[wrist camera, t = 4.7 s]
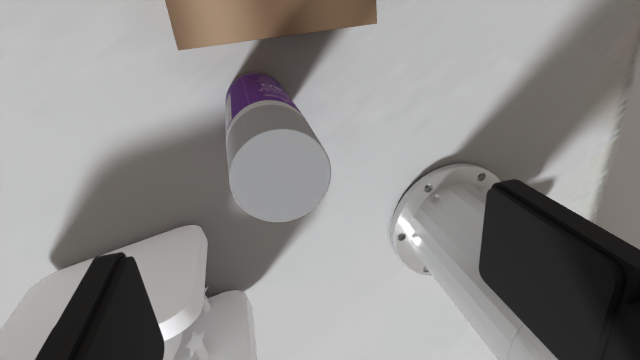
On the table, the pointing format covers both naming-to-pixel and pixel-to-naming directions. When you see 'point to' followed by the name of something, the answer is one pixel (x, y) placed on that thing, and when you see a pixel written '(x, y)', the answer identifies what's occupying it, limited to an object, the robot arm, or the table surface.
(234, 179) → the container
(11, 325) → the cable organizer
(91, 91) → the table surface
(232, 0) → the socket block
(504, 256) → the robot arm
